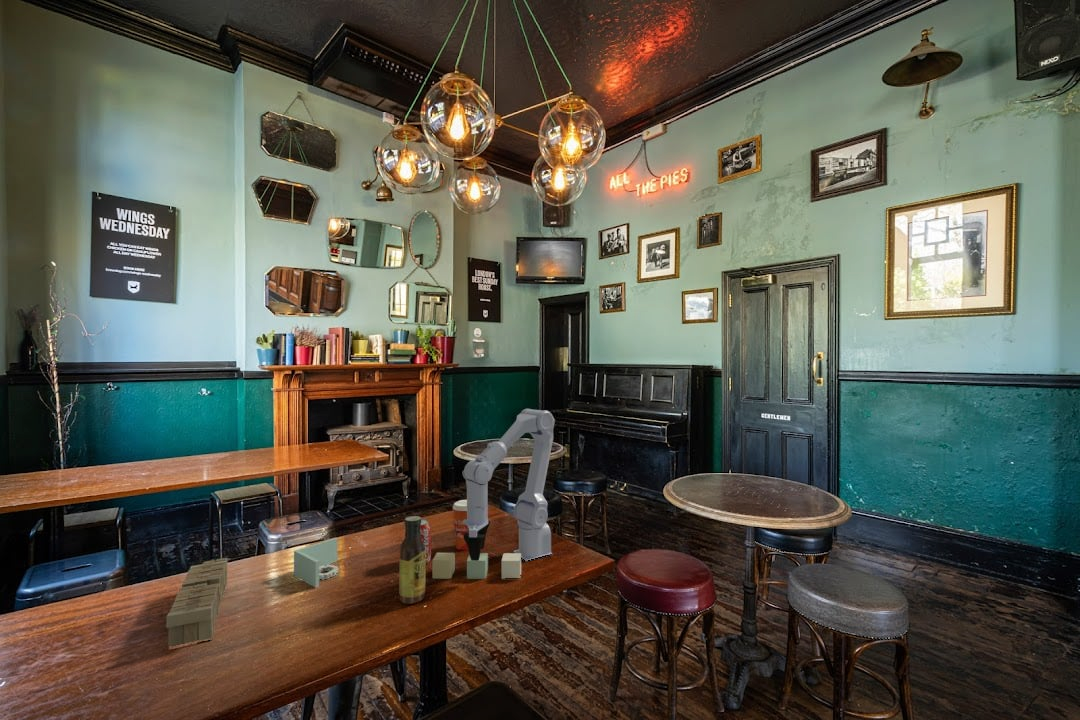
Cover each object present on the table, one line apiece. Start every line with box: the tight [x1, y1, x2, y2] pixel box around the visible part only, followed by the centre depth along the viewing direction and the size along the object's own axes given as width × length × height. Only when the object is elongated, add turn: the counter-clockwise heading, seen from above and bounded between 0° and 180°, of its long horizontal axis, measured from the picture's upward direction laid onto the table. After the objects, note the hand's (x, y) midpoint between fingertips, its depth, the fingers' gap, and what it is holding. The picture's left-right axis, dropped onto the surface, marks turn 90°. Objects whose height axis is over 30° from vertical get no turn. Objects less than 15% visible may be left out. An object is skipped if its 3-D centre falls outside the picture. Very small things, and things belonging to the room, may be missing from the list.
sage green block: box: [466, 552, 489, 580], centre depth 128 cm, size 5×5×5 cm
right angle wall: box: [293, 537, 340, 588], centre depth 129 cm, size 12×12×8 cm
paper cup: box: [452, 499, 469, 551], centre depth 147 cm, size 8×8×14 cm
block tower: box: [165, 557, 228, 648], centre depth 108 cm, size 8×8×29 cm
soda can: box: [420, 518, 432, 565], centre depth 136 cm, size 7×7×12 cm
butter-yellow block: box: [431, 552, 456, 580], centre depth 128 cm, size 5×5×5 cm
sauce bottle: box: [398, 515, 427, 605], centre depth 115 cm, size 7×6×20 cm
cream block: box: [501, 552, 522, 580], centre depth 128 cm, size 5×5×5 cm
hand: (477, 554), depth 128 cm, fingers open, 7 cm apart
